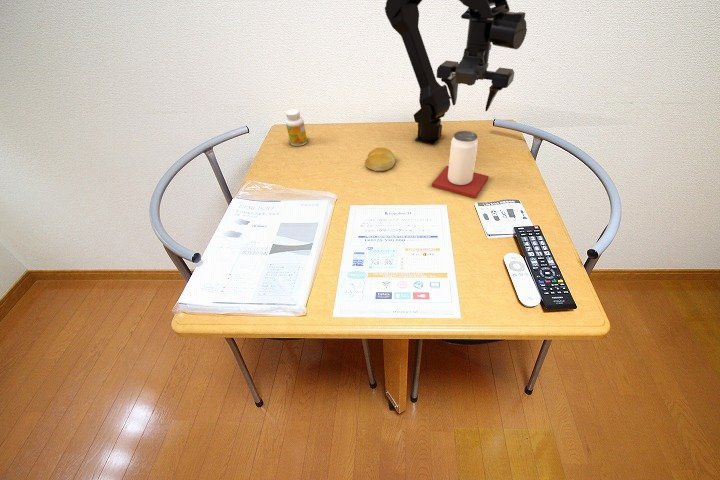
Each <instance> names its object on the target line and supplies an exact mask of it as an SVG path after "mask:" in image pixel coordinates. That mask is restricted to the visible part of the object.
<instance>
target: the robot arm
mask: <svg viewBox="0 0 720 480" xmlns="http://www.w3.org/2000/svg"><path fill="white" fill-rule="evenodd" d="M458 1H459V2H460V3H461V4H462V5H463V6H465V7H467V9H466V10H465V11H464V12H463V13H462V14H461V15H460V18H461V19H463V20H468V26H467V27H468V28H467V36H466V43H465V44H466V46H465V48H464V49H463V55H462V58H461V60H460V61H453V60H445V61H444V62H442V63H440V64H439V66H438V67H437V69H436V75H435V72H434V70H433V67H432V64H431V61H430V58H429V55H428V52H427V49H426V47H425V44H424V41H423V37H422V34H421V32H420V29H419V22H420V10H419V5H420V4H421V3H422V2H423V0H386V2H385V7H384V12H385V15H386V18H387V20H388V21H389V23H390V26H391V28H393V30H395V31H396V33H397V34H399V35H400V37H401V40H402V42H403V45H404V47H405V50H406V53H407V56H408V59H409V61H410V65H411V67H412V70H413V73H414V75H415V78H416V82H417V84H418V87H419V97H418V98H419V100H418V102H419V106H420V108H419V109H418V110H417V111H416V112H415V113H414V114H413V119H414V123H417V136H416V137H415V139H414V141H416V142H419V143H423V144H427V145H435V144H436V143H437V142H438V141H439V140H440V139H441V138H442V137H443V133H442V131H443V125H442V118H444V117H445V115H446V113H447V112H448V111H449V110H450V108H451V103H452V106H456V105H457V104H456V103H457V99H458V91H459V85H460V84H461V85H467V86H474V85H475V84H476V82H477V81H479V80H480V81H483V80H488V81H491V85H490V86H489V92H488V96H487V100H486V104H485V110H484V111H485V112H488V111H489V109H490V107H491V105H492V103H493V102H494V99H495V97H496V95H498V93H499V91H502V90H503V89H506V88H508V87H509V86H510V85H511V84H512V83H513V82H514V78H515V71H514V69H513V68H507V67H498V68H497V69H496V70H495V71H493V70H488V68H489V64H490V63H489V57H490V51H491V50H492V45H493V46H496V47H500V48H501V47H502V48H505V49H512V50H518V49H519V48H521V47H522V45H523V43H524V41H525V39H526V35H527V32H528V28H527V20H526V12H523V11H518V12H517V11H516V12H515V11H511V9H510V6H509V3H508V1H507V0H458ZM436 78H437V79H440V81H441V82H442V83H444V84H442V85H441V84H440V83H439V82H438V81H437V79H436Z"/></svg>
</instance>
